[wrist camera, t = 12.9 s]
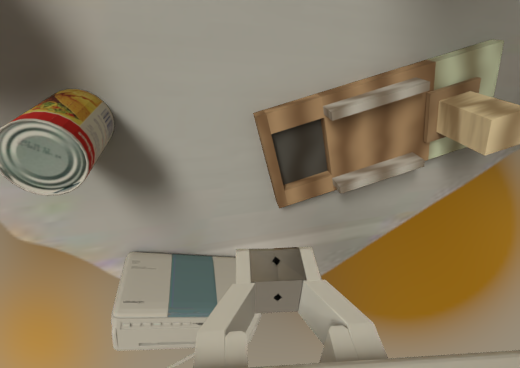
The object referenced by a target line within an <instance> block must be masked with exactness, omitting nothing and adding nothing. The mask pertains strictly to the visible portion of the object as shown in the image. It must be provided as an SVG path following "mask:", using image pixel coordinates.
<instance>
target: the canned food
mask: <svg viewBox="0 0 520 368" xmlns="http://www.w3.org/2000/svg"><path fill="white" fill-rule="evenodd" d="M113 132H114V119H113V115H112V113H111V111H110V109H109V108H108V106H107V105H106V104H105V103H104V102H103V101H102V100H101V99H100V98H98V97H97V96H96V95H94V94H92V93H90V92H88V91H84V90H80V89H66V90H62V91H59V92H57V93H56V94H54V95H52V96H51V97H49V98H48V99H46V100H44V101H43V102H41V103H40V104H38V105H36V106H35V107H33V108H32V109H30V110H28V111H27V112H25V113H24V114H22V115H20V116H19V117H17V118H16V119H14V120H13V121H11V122H9V123H8V124H6V125H5V126H3V127H1V128H0V173H1V174H2V175H3V176H4V177H5V178H6V179H7V180H9V181H10V182H11V183H12V184H14V185H16V186H18V187H19V188H21V189H23V190H26V191H29V192H32V193H35V194H40V195H47V196H49V195H61V194H65V193H68V192H71V191H73V190H74V189H76V188H78V187H79V186H80V185H81V184H82V183H83V182H84V181H85V179H86V177H87V176H88V174H89V172H90V171H91V169H92V167H93V166H94V164H95V163H96V161H97V159H98V158H99V156H100V154H101V153H102V151H103V149H104V148H105V146H106V145H107V143H108V141H109V140H110V138H111V136H112V134H113Z"/></svg>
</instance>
